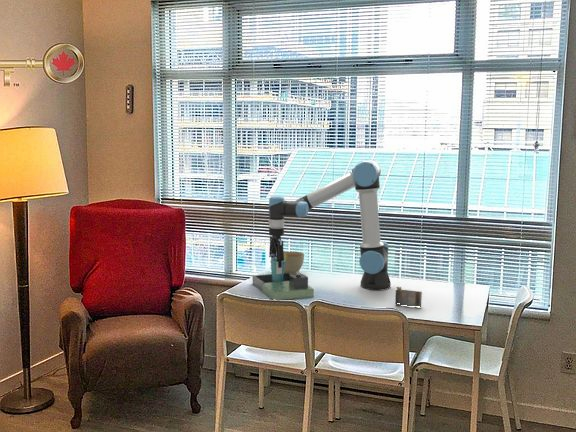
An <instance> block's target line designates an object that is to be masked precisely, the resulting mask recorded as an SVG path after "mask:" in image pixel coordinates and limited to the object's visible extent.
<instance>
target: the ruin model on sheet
mask: <svg viewBox="0 0 576 432" xmlns="http://www.w3.org/2000/svg"><path fill="white" fill-rule="evenodd" d="M422 295H423V293H422V291H418V290H409V289H402V286H396V289H395V300H394V302H395V303H394V305H395V304H397V303H400V305H407V306H420V307H421V308H422V299H423V298H422ZM400 305H399V306H400Z"/></svg>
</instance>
